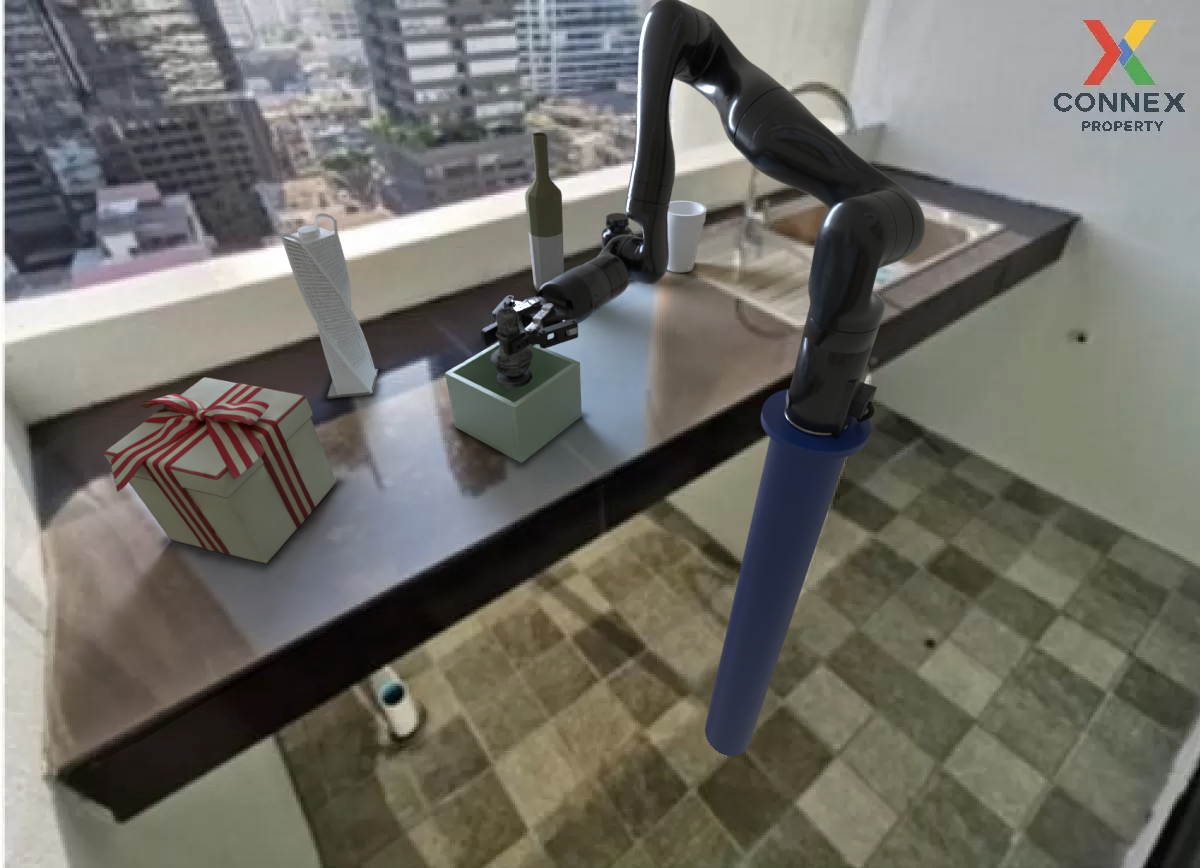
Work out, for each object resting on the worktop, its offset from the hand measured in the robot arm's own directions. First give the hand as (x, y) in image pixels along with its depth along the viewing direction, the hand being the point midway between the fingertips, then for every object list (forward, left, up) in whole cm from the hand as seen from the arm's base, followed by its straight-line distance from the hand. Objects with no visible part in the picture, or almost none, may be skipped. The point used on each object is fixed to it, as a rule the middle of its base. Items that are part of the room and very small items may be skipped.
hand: (494, 343), depth 81 cm
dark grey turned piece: (0, -3, -7) cm, 8 cm away
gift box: (+13, +32, -15) cm, 38 cm away
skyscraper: (+28, +6, -15) cm, 32 cm away
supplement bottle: (+20, -56, -15) cm, 61 cm away
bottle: (+26, -40, -15) cm, 50 cm away
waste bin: (0, -3, -15) cm, 15 cm away
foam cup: (+10, -66, -15) cm, 68 cm away
